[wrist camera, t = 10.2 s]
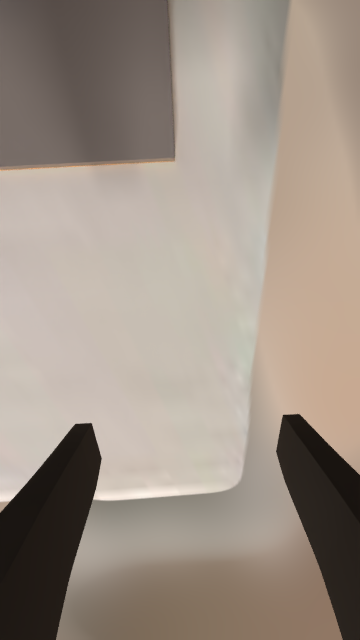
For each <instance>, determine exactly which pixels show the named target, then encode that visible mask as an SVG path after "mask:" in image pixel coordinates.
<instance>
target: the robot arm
mask: <svg viewBox="0 0 360 640" xmlns="http://www.w3.org/2000/svg"><path fill="white" fill-rule="evenodd" d="M276 452H277V456H278V459H279V463H280V467H281V470H282V473H283V476H284V480H285V483H286V485H287V487H288V490H289V493H290V495H291V498H292V500H293V503H294V505H295V507H296V510H297V512H298V515H299V517H300V519H301V522H302V525H303V527H304V530H305V532H306V534H307V537H308V539H309V542H310V544H311V547H312V549H313V552H314V554H315V557H316V559H317V562H318V564H319V567H320V570H321V573H322V576H323V579H324V582H325V585H326V588H327V591H328V594H329V597H330V600H331V603H332V607H333V610H334V613H335V616H336V619H337V622H338V626H339V629H340V632H341V635H342V638H343V640H360V475H359V474H358V473H357V472H356V471H355V470H354V469H353V468H352V467H351V466H350V465H349V464H348V463H347V462H346V461H345V460H344V459H343V458H342V457H341V456H339V454H338V453H337V452H336V451H335V450H334V449H333V448H332V447H331V446H330V445H328V443H327V442H326V441H325V440H324V439H323V438H322V437H321V436H320V435H319V434H318V433H317V432H316V431H315V430H314V429H313V428H312V427H311V426H310V425H309V424H308V423H307V421H306V420H304V418H303V417H302V416H301V415H299V414H294V415H283V418H282V423H281V428H280V434H279V439H278V445H277V450H276ZM101 459H102V458H101V455H100V451H99V448H98V444H97V441H96V437H95V433H94V430H93V426H92V423H85V424H75V425H74V426H73V427H72V429H71V430H70V431H69V432H68V434H67V435H66V436H65V437H64V439H63V440H62V441H61V442H60V444H59V445H58V446H57V447H56V449H55V450H54V451H53V452H52V454H51V455H50V456H49V457H48V459H47V460H46V461H45V462H44V463H43V465H42V466H41V467H40V468H39V469H38V471H37V472H36V473H35V474H34V475H33V476H32V478H31V479H30V480H29V481H28V482H27V484H26V485H25V486H24V487H23V488H22V489H21V490H20V491H19V493H18V494H17V495H16V496H15V497H14V498H13V499H12V500H11V501H10V503H9V504H8V505H7V506H6V507H5V508H4V509H3V511H1V513H0V640H56V636H57V632H58V627H59V622H60V618H61V613H62V608H63V603H64V600H65V595H66V591H67V586H68V582H69V578H70V574H71V570H72V567H73V563H74V560H75V556H76V553H77V550H78V547H79V543H80V540H81V537H82V534H83V530H84V526H85V523H86V520H87V517H88V514H89V510H90V507H91V504H92V500H93V497H94V493H95V490H96V486H97V481H98V476H99V470H100V465H101Z"/></svg>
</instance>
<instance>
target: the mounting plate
mask: <svg viewBox="0 0 360 640" xmlns="http://www.w3.org/2000/svg"><path fill="white" fill-rule="evenodd" d="M172 161H175V153H174V132H173V111H172V89H171V68H170V47H169V25H168V4H167V0H0V171H1V170H20V169H39V168H58V167H77V166H96V165H115V164H134V163H153V162H172Z"/></svg>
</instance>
